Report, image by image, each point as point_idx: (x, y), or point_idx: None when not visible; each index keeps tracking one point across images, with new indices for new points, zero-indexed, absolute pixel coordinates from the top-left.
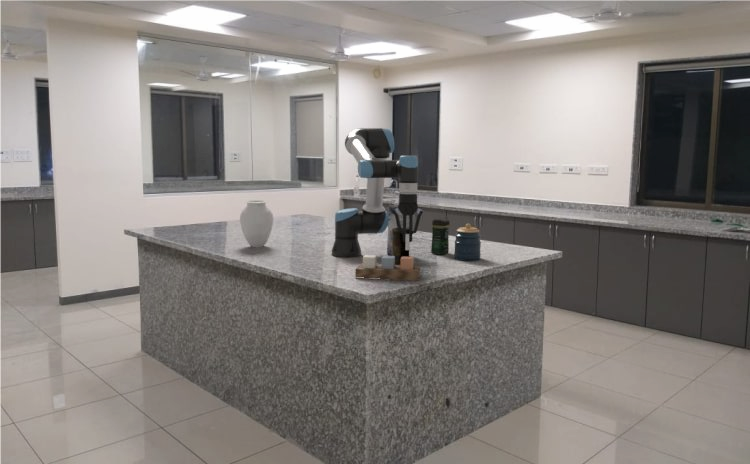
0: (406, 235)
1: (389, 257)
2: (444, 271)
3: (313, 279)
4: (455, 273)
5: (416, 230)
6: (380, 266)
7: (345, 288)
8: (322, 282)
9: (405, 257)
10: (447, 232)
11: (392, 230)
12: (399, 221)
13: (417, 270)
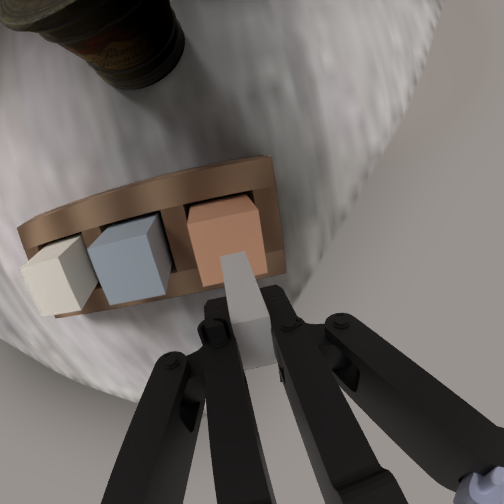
0: (250, 362)
1: (137, 282)
2: (338, 59)
3: (12, 340)
4: (379, 88)
5: (357, 368)
6: None
7: (122, 393)
8: (44, 361)
9: (217, 247)
10: None
11: (2, 22)
12: (176, 482)
13: (281, 256)
